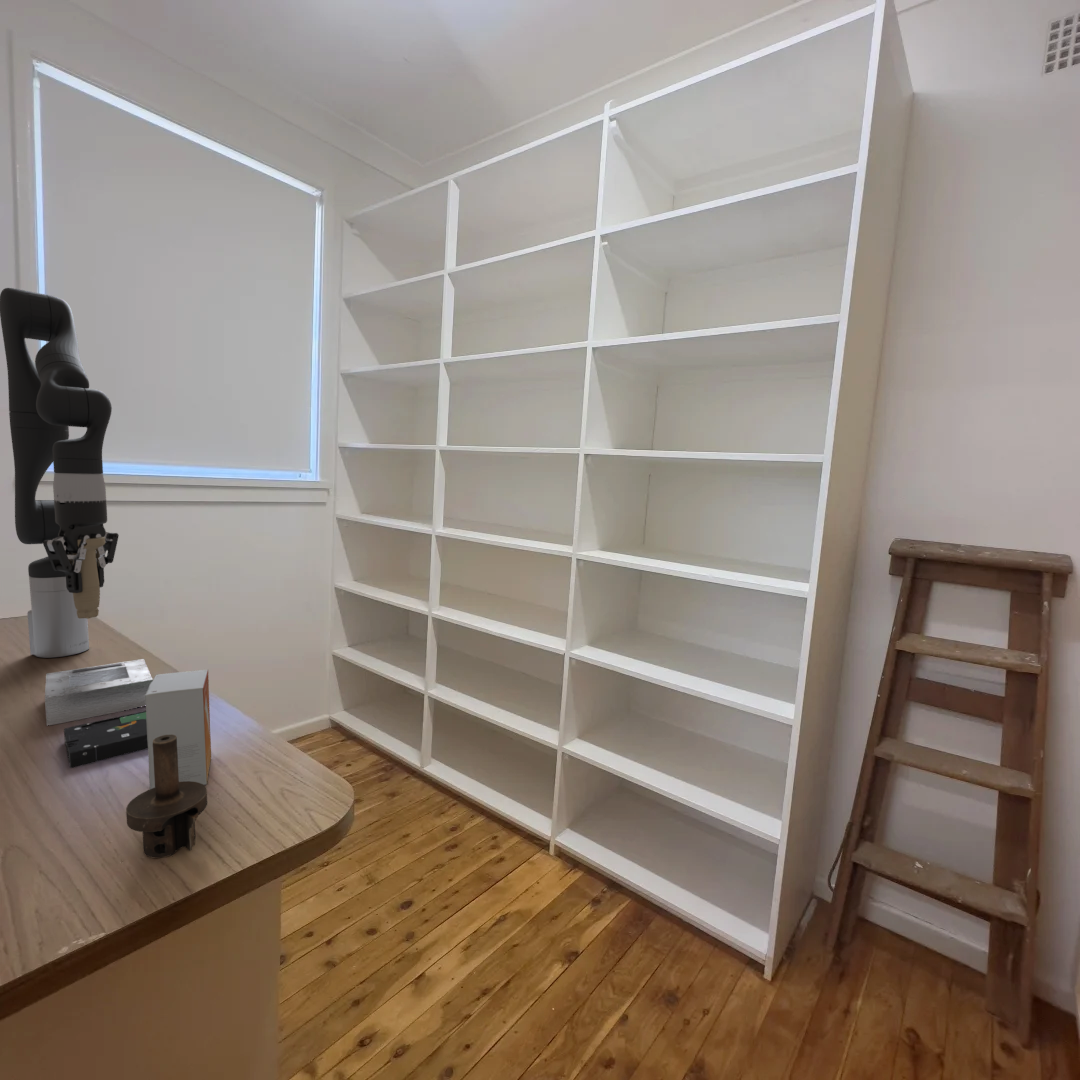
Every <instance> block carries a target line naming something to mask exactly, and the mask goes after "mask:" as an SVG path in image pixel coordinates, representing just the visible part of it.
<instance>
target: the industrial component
mask: <svg viewBox="0 0 1080 1080" xmlns="http://www.w3.org/2000/svg"><path fill="white" fill-rule="evenodd" d="M153 756H154V777H155V788H152V789H150V788H149V789H148V790H145V791H144V792H142V793H140V794H139V795H137V796H134V797H133V798H132V800H131V801H129V802H128V804H127V805H126V808H125V813H126V825H127V827H128V828H129V829H130V830H132V831H135V832H140V833H142V846H143V847H142V849H143V854H144V855H145V856H146V857H149V858H154V859H155V858H156V859H157V858H165V857H169V856H170V857H174V856H173V855H174V854H175V853H176V852H177V851H178V850H180V849H182V848H184V847H185V848H186V849H187V850H189V852H191V851H192V848H193V847H194V846H195V845H196V841H195V840H196V820H197V819H198V817H199V816H200V815H201V814H202V813H203V812H204V811H205V810H206V808H207V806H208V790H207V786H205V785H203V784H201V783H198V782H192V781H183V782H179V775H178V752H177V737H176V735H162V736H159V737H157V738H155V739H154V740H153Z"/></svg>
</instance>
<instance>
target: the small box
mask: <svg viewBox="0 0 1080 1080" xmlns="http://www.w3.org/2000/svg"><path fill="white" fill-rule="evenodd" d="M152 679H153V681H152V682H151V684H150V685H149V688H148V691H147V693H146V695H145V702H146V707H145V711H146V722H147V741H148V749H147V751H148V752H147V753H148V756H147V757H148V773H149V774H148V778H149V790H150V789H152V788H155V777H154V756H153V740H154V739H155V738H157V737H159V736H162V735H176V737H177V752H178V775H179V782H183V781H192V782H198V783H201V784H203V785H204V786H205V785H207V784H208V779H209V778H208V777H209V772H210V765H211V761H212V740H211V739H212V738H211V715H210V714H211V713H210V691H209V690H210V687H209V685H210V684H209V681H210V680H209V669H198V670H189V671H178V672H169V673H168V672H167V673H160V674H155V676H154V677H153V678H152Z"/></svg>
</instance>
